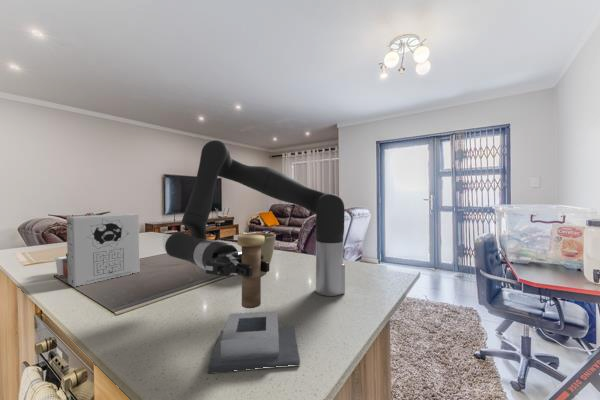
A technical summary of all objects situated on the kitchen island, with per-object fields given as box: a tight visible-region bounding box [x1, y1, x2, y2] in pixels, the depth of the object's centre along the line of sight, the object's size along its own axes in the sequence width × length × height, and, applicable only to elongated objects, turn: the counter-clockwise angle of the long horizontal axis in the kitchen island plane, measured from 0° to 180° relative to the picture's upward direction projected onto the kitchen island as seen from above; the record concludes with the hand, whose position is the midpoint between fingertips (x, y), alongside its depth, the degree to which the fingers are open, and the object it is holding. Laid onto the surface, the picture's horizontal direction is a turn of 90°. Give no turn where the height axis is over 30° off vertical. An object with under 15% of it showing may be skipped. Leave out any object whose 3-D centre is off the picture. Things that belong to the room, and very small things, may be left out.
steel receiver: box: [207, 310, 301, 374], centre depth 55 cm, size 17×13×5 cm
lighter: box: [62, 252, 68, 279], centre depth 106 cm, size 8×3×10 cm, turn 168°
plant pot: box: [239, 232, 277, 276], centre depth 109 cm, size 15×15×16 cm
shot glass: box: [55, 255, 67, 276], centre depth 108 cm, size 7×7×7 cm
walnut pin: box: [237, 234, 265, 309], centre depth 55 cm, size 6×6×14 cm
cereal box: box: [66, 212, 141, 288], centre depth 103 cm, size 22×8×25 cm, turn 145°
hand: (259, 269), depth 53 cm, fingers closed on walnut pin, 4 cm apart
